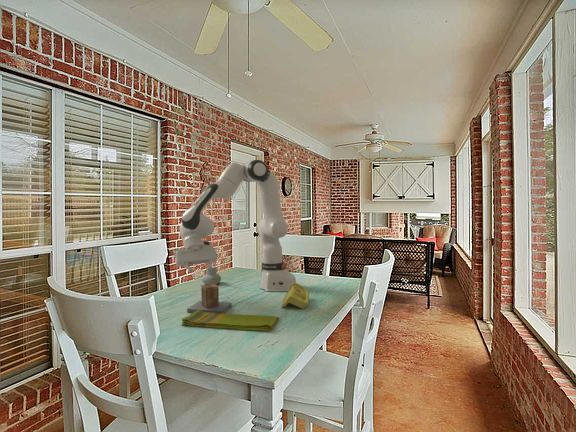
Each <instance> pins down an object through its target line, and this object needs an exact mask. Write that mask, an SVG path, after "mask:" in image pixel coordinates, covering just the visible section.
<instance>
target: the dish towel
mask: <svg viewBox="0 0 576 432" xmlns="http://www.w3.org/2000/svg"><path fill="white" fill-rule="evenodd" d="M279 319H280V318H279V316H275V315H263V314H262V315H261V314H242V313H240V314H236V313H226V312H224V313H213V312H204V311H201V310H198V311H196V312H194V313H191V314H189V315H187V316H185V317H183V318H182V319H181V321H182V323H181V326H182V327H193V328H205V329H215V330H216V329H217V330H218V329H219V330H234V331H243V332H244V331H247V332H260V333H261V332H262V333H264V332H266V333H271V331H272V330H273V328H274V327H275V325H276V323H277V322H278V320H279Z"/></svg>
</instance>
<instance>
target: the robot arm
mask: <svg viewBox="0 0 576 432" xmlns="http://www.w3.org/2000/svg"><path fill="white" fill-rule="evenodd" d="M244 181H245V182H248V183H253V182H256V184H257V185H258V188H259V189H258V192H259V202H260V203H259V204H260V210H261V211H262V215H263V217H264V218H262V219H260V220H259V221H258V223H257V230H258V233H259V238H260V244H261V249H262V252H261V254H262V261H261V281H260V285H259V289H262V290H264V291H266V292H288V290H289V289H290V287H291V285H292V284H293V283H297V280H296V279H297V278H296V276H295V274H293V273H291V272H290V271H289V270H288V269H286V268H287V267H286V266H287V263H286V262H283V247H282V244H281V241H280V239H282V238H283V237H285V236H286V235H287V234H288V232H289V226H288V224H287V222H286V220H285V218H284V213H283V210H282V205H281V195H280V187H279V180H278V177H277V176H276V174H274V173H272V172H270V170H269V168H268V166H267V164H266V162H265V161H263V160H261V159H253V160H250V161H247V162H246V163H244V164H242V165H241V164H239V163H237V162H231V163H229V164H228V165H227V166H226V168H225V169H223V171H222V173H221V174H220V175H219V177H218V179H217V180H216V181H215V182H214V183H210V184H209V185H207V186H206V187H205V188H204V189H203V191H201V193H200V195H199V196H198V197H197V198H196V199H195V201H194V202H193V203H192V204H191V206H189V207H188V208H186V210H185V211H184V212H183V214H182V215H181V223H180V225H179V235H180V238H181V240H182V244H183V247H180V248H175V249H174V250H173V251H172V253H173V257H174V259H175V260H174V261H175V265H176V266H177V267H182V266H183V267H184V268H185V269H186V270H187V271H188V273H192V272H193V267H192V266H193V265H200V264H208V265H207V266H206V267H207V268H208V270H211V269H212V267H211V266H212V264H213V263H216V262H217V261H218V258H219V256H218V254H217V253H218V252H217V250H216V248H214V247H213V243H212V242H211V241H208V240H203V239H205V238H206V237H209V236H210V235H211V234H213V232H214V230H215V222H214V220H212V219H211V218H210V217H208V216H207V215H204V214H203V211H204V210H205V209H206V207H207V206H208V204H210V202H211V201H212V200H213V199H215V198H216V199H217V198H219V199H229V198H231V197H233V196H234V195H235V194H236V193H237V191H238V188H239V187H240V185H241V183H242V182H244ZM191 265H192V266H191Z"/></svg>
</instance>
